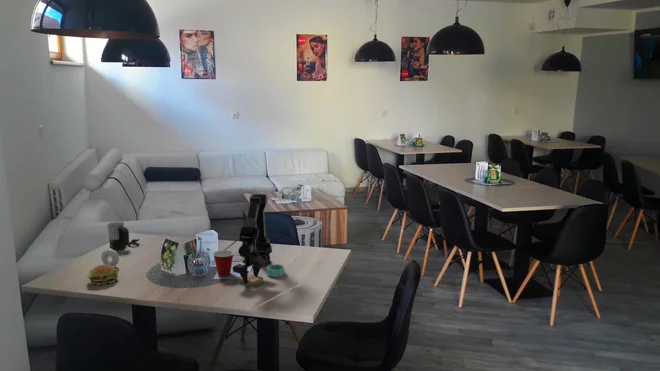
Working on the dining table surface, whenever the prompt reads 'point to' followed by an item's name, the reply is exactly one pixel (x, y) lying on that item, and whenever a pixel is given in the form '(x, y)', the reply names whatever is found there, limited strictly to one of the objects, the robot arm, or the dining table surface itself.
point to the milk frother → (119, 235)
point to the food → (103, 274)
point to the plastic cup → (223, 262)
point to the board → (252, 280)
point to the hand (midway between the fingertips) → (251, 281)
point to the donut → (113, 254)
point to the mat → (249, 285)
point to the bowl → (275, 270)
